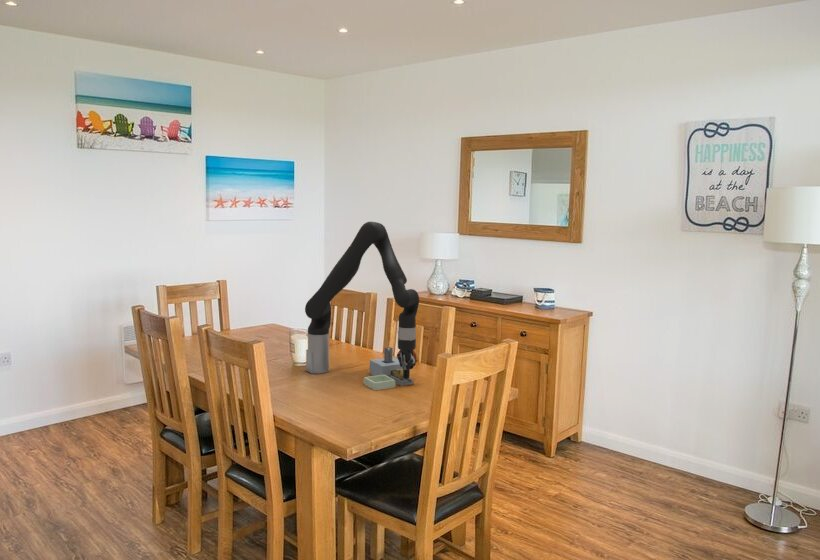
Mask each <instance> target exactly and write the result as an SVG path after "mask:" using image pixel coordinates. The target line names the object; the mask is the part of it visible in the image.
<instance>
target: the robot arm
mask: <svg viewBox="0 0 820 560" xmlns="http://www.w3.org/2000/svg"><path fill="white" fill-rule="evenodd" d="M387 231H388V230H387V229H386V227H385V225H384V224H383V223H380V222H377V221H367V222H364V224H362V225H361V226H360V228H359V230H358V231H357V234H356V235H355V237H354V239H353V240H352V242H351V243H350V245H349V246H348V248H347V249H346V251H344V253H343V254H342V256H341V257H340V259H338V261H337V262H336V264H335V265H334V267H333V268H332V269H331V271H330V273H329V274H328V275H327V277H326V278H325V279H324V281H323V282H322V285H321V286H320V287H319V288H318V290H316V292H315V293H314V294H313V295H312V296H311V297H310V298H309V299H308V301H307V302H306V304H305V307H304V313H305V315H306V317H308V318H309V319H311V321H310V323H309V325H308V326H307V349H306V350H305V355H306V356H305V362H306V363H305V368H306V369H305V371H307V372H308V373H310V374H317V375H318V374H325V373H328V372H329V369H330V362H329V361H330V357H329V356H330V349H329V348H330V328H331V323H332V305H331V301H332V300H333V299H334V298H335V297H336V296H337V295H338V294H339V293H340V292H341V291H342V290H343V289H344V288H346V287H347V286H348V285H349V284H350V283H351V281H352V280H353V279H354V277H355V276H356V274H357V272H358V271H359V269H360V266H361V261H362V259H363V257H364V254H365V253H366V252H367V250H368V249H369V248H370V247H371V246H372V245H374V246H375V248H376V249H377V250H378V251H377V252H378V253H379V256H380V259H381V263H382V267H383V271H384V274H385V276H386V278H387V280H388V282H389V284H390V286H391V291H392V294H393V299H394V301H395V303H396V305H397V306H399V307H400V308H403V310H402V312H400V313H399V315H398V330H397V349H398V350H399V351H400V353H399V354H398V353H396V358H397V357H398V358H397V359H398V360H399V363H400V366H401V367H402V369H403V378H405V379H407V378H410V372H411V371H410V370H413V369H414V367H415V365H416V363H417V362H418V361H417V360H418V359H417V358H416V359H414V357H413V356H414V354H413V351H414V350H415V349H417V347H416V346H417V330H416V328H417V327H416V321H417V320H416V319H417V318H416V316H417V314H418V313H417V312H418V309H419V305H420V304H419V303H420V295H419V292H417V291H416V290H415V289H414V288H413V289H412V288H409V289H406V283H407V282H408V280H407V277H406V274H405V272H404V271H403V269H402V267H401V264H400V263H399V260H398V258H397V256H396V255H395V251H394V249H393V246H392V243H391V241H390V237H389V234H388V232H387Z"/></svg>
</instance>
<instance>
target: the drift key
mask: <svg viewBox="0 0 820 560" xmlns="http://www.w3.org/2000/svg"><path fill="white" fill-rule="evenodd" d="M391 375H392V376H394V377H396V378H398V379H404V378H403V369H396V370H393V371H391Z"/></svg>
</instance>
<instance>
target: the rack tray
mask: <svg viewBox="0 0 820 560" xmlns="http://www.w3.org/2000/svg"><path fill="white" fill-rule="evenodd" d="M363 385H364V386H366V387H368V388H369V389H371V390H372V391H380V390H386V389H393V388H396V383H395V380H394V379H392V378H390V377H388V376H386V375H377V376H374V375H371V376H364V377H363Z"/></svg>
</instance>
